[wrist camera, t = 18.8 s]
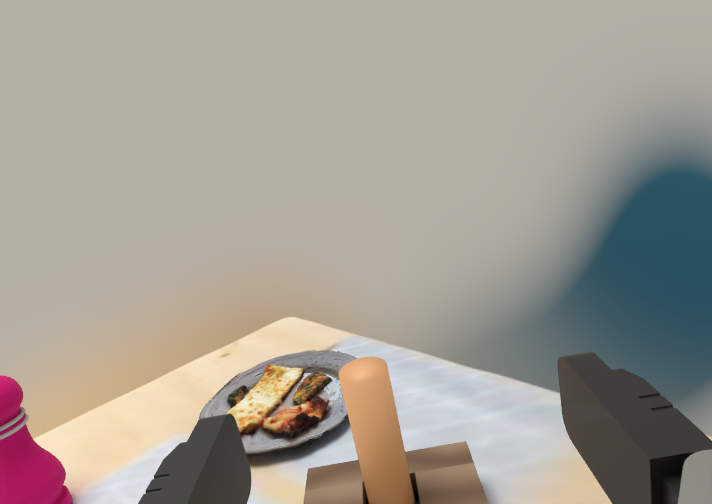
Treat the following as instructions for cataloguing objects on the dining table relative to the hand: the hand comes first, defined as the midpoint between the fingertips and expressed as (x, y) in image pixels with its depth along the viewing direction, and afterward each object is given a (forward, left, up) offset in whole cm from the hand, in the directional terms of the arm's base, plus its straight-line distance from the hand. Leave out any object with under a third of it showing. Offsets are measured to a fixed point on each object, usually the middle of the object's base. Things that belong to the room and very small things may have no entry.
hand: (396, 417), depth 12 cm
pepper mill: (+1, -57, -30) cm, 65 cm away
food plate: (-28, -45, -31) cm, 61 cm away
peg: (-17, -18, -30) cm, 39 cm away
